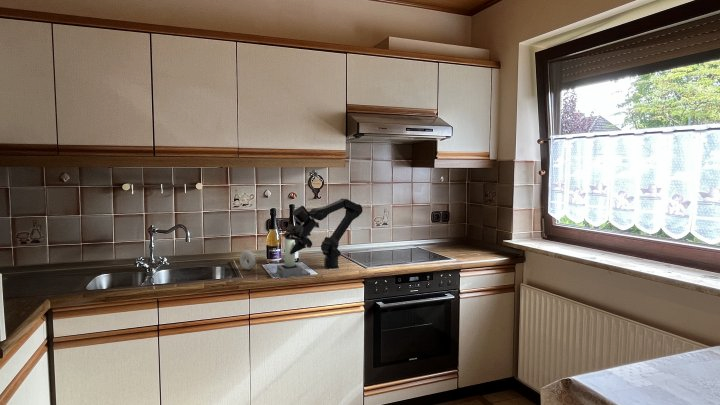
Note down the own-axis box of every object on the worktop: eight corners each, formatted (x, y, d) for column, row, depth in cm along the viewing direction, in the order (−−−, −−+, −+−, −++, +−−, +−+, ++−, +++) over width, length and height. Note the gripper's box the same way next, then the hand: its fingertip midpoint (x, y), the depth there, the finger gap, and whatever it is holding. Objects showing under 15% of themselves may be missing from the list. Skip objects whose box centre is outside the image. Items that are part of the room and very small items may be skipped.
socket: (303, 270, 231) (303, 262, 231) (310, 275, 221) (310, 267, 221) (276, 272, 225) (276, 264, 225) (282, 277, 215) (282, 269, 215)
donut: (238, 269, 231) (238, 250, 230) (243, 267, 234) (243, 248, 233) (252, 271, 226) (252, 252, 225) (257, 270, 228) (257, 251, 228)
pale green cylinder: (290, 264, 225) (290, 238, 224) (296, 265, 222) (297, 239, 221) (282, 266, 221) (282, 239, 220) (289, 267, 218) (289, 241, 217)
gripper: (286, 216, 229) (267, 240, 223) (307, 220, 215) (287, 245, 209) (299, 230, 235) (281, 253, 228) (320, 235, 221) (301, 260, 215)
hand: (287, 253), depth 220 cm, fingers closed on pale green cylinder, 5 cm apart
